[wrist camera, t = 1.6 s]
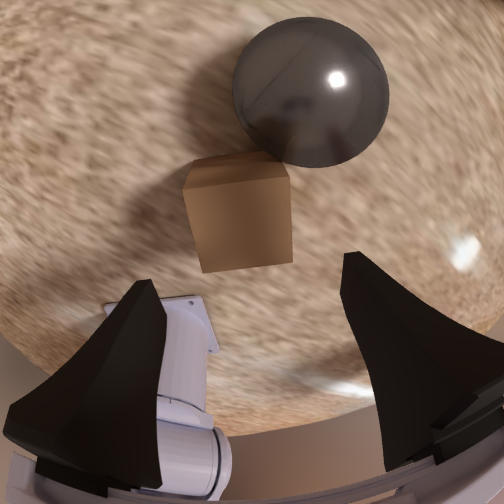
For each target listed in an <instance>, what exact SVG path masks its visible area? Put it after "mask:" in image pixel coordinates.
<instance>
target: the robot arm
mask: <svg viewBox="0 0 504 504" xmlns="http://www.w3.org/2000/svg"><path fill="white" fill-rule="evenodd" d="M340 296H341V300H342V303H343V307H344V310H345V314H346V317H347V319H348V322H349V324H350V327H351V329H352V331H353V334H354V336H355V339H356V341H357V343H358V346H359V348H360V351H361V353H362V356H363V358H364V361H365V363H366V366H367V369H368V372H369V376H370V380H371V384H372V388H373V392H374V396H375V401H376V406H377V411H378V416H379V423H380V429H381V436H382V445H383V456H384V465H385V470H386V472H389V473H386V474H383V475H380V476H377V477H374V478H371V479H368V480H364V481H361V482H358V483H354V484H350V485H346V486H342V487H338V488H333V489H329V490H325V491H319V492H314V493H309V494H302V495H296V496H289V497H281V498H271V499H259V500H242V501H241V500H240V501H219V498H220V496H221V493H222V491H223V490H224V489H225V487H226V486H227V484H228V481H229V478H230V474H231V468H232V454H231V448H230V444H229V441H228V439H227V438H226V436H225V434H224V433H223V431H222V430H221V429H220V428H219V427H216V426H213V415H211V414H207V413H206V375H207V354H212V353H218V352H219V345H218V343H217V340H216V337H215V334H214V331H213V328H212V326H211V323H210V320H209V317H208V314H207V311H206V308H205V305H204V302H203V299H202V298H201V297H200V296H186V297H177V298H167V299H159V296H158V294H157V292H156V290H155V287H154V285H153V283H152V280H151V279H146V280H138V281H136V282H135V283H134V284H133V285H132V287H131V288H130V289H129V290H128V291H127V293H126V294H125V295H124V296H123V298H122V299H121V300H120V301H119V303H112V304H106V305H105V307H104V310H105V312H106V314H107V317H106V319H105V320H104V322H103V323H102V324H101V325H100V326H99V328H98V329H97V330H96V331H95V332H94V334H93V335H92V336H91V337H90V338H89V340H88V341H87V342H86V343H85V344H84V345H83V346H82V347H81V348H80V349H79V350H78V351H77V352H76V353H75V355H74V356H73V357H72V358H71V359H70V360H69V361H67V362H66V363H65V364H64V365H63V366H62V367H61V368H60V369H59V370H58V371H56V372H55V373H54V374H53V375H52V376H51V377H50V378H48V380H46V381H45V382H43V383H42V384H41V385H40V386H38V387H37V388H36V389H34V390H33V391H31V392H30V393H29V394H27V395H26V396H24V397H22V398H21V399H19V400H18V401H16V402H15V403H13V404H11V405H10V407H9V411H8V414H7V418H6V421H5V425H4V429H3V434H4V436H5V437H6V438H8V439H9V440H10V441H12V442H13V443H15V444H17V445H18V446H20V447H22V448H23V449H25V450H27V451H29V452H30V453H32V454H34V455H36V456H38V457H37V462H36V461H34V460H32V459H29V458H27V457H25V456H23V455H21V454H19V453H16V452H15V451H13V452H12V456H11V461H10V466H9V472H8V478H7V486H6V494H5V500H6V502H8V503H9V504H348V503H351V502H355V501H359V500H362V499H365V498H369V497H372V496H375V495H378V494H381V493H384V492H387V491H390V490H393V489H395V488H398V487H399V488H398V489H397V490H396V492H395V494H394V495H393V496H390V497H387V498H383V499H380V500H377V501H374V502H371V503H368V504H486V503H488V501H490V500H491V499H492V498H493V497H494V496H495V495H497V494H498V493H499V492H500V491H501V490H502V489H503V488H504V409H503V407H502V406H503V405H504V396H503V394H504V343H502V342H499V341H496V340H494V339H491V338H489V337H486V336H484V335H482V334H480V333H477V332H475V331H473V330H471V329H469V328H467V327H465V326H463V325H461V324H459V323H458V322H456V321H454V320H452V319H450V318H449V317H447V316H445V315H443V314H442V313H440V312H439V311H437V310H436V309H434V308H432V307H431V306H429V305H428V304H426V303H425V302H423V301H422V300H421V299H419V298H418V297H416V296H415V295H414V294H412V293H411V292H410V291H408V290H407V289H406V288H404V287H403V286H402V285H401V284H399V283H398V282H397V281H395V280H394V279H393V278H392V277H391V276H389V275H388V274H387V273H386V272H384V271H383V270H382V269H381V268H380V267H378V266H377V265H376V264H375V263H374V262H372V261H371V260H370V259H369V258H367V257H366V256H365V255H364V254H362V253H361V252H360V251H357V252H350V253H344V261H343V270H342V280H341V288H340ZM189 301H192V302H189ZM413 462H414V463H413ZM411 463H413V464H411ZM409 464H410V465H409ZM406 465H408V466H406ZM403 466H405V467H403ZM400 467H403V468H400ZM398 468H400V469H398ZM395 469H397V470H395ZM393 470H395V471H393ZM390 471H392V472H390Z"/></svg>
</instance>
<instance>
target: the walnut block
mask: <svg viewBox="0 0 504 504" xmlns="http://www.w3.org/2000/svg"><path fill="white" fill-rule="evenodd" d="M182 193H183V197H184V201H185V206H186V210H187V214H188V218H189V222H190V226H191V230H192V234H193V238H194V242H195V246H196V250H197V254H198V257H199V261H200V265H201V269H202V272H203V273H211V272H219V271H228V270H236V269H244V268H252V267H261V266H269V265H277V264H284V263H292V262H293V252H292V220H291V197H290V177H289V175H288V173H287V171H286V169H285V167H284V165H283V164H282V162H281V161H280V160H278V159H276V158H274V157H272V156H271V155H269V154H268V153H266V152H265V151H255V152H247V153H238V154H231V155H224V156H217V157H210V158H204V159H197V160H194V162H193V165H192V167H191V169H190V172H189V174H188V177H187V179H186V182H185V184H184V187H183V189H182Z"/></svg>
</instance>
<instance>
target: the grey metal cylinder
mask: <svg viewBox="0 0 504 504" xmlns="http://www.w3.org/2000/svg"><path fill="white" fill-rule="evenodd" d="M232 92H233V101H234V106H235V110H236V113H237V116H238V118H239V121H240V122H241V124H242V126H243V128H244V130H245V131H246V132H247V134H248V135H249V137H250V138H251V139H252V140H253V141H254V142H255V143H256V144H257V145H258V146H259V147H260V148H261V149H262V150H264V151H265V152H266V153H268V154H269V155H271V156H272V157H274V158H276V159H278V160H280V161H282V162H285V163H288V164H291V165H295V166H299V167H306V168H323V167H330V166H334V165H338V164H341V163H343V162H346V161H348V160H350V159H352V158H354V157H355V156H357V155H358V154H360V153H361V152H362V151H364V150H365V149H366V148H367V147H368V146H369V145H370V144H371V143H372V142H373V140H374V139H375V138H376V137H377V135H378V133H379V132H380V130H381V128H382V126H383V124H384V122H385V119H386V116H387V112H388V106H389V84H388V80H387V75H386V73H385V70H384V67H383V65H382V63H381V61H380V59H379V57H378V56H377V54H376V53H375V51H374V50H373V48H372V47H371V46H370V45H369V44H368V43H367V42H366V41H365V40H364V39H363V38H362V37H361V36H360V35H358V34H357V33H356V32H354V31H353V30H351V29H350V28H348V27H346V26H344V25H342V24H340V23H337V22H334V21H331V20H327V19H323V18H317V17H297V18H291V19H287V20H284V21H280V22H278V23H275V24H273V25H271V26H269V27H267V28H266V29H264V30H263V31H262V32H260V33H259V34H258V35H256V36H255V37H254V38H253V39H252V40H251V41H250V43H249V44H248V45H247V46H246V48H245V49H244V51H243V52H242V54H241V56H240V58H239V60H238V62H237V65H236V68H235V72H234V76H233V86H232Z"/></svg>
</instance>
